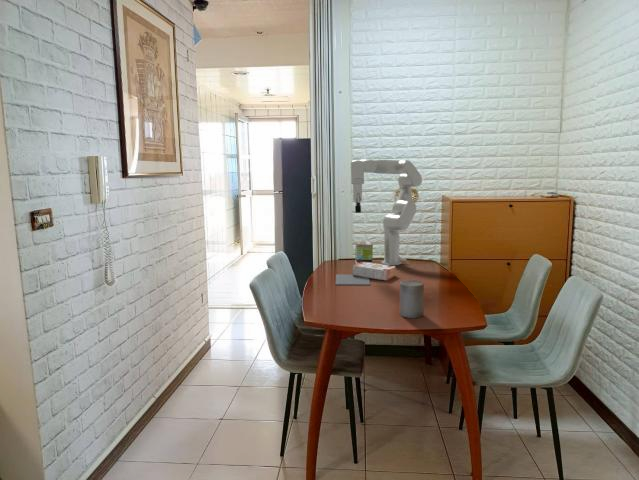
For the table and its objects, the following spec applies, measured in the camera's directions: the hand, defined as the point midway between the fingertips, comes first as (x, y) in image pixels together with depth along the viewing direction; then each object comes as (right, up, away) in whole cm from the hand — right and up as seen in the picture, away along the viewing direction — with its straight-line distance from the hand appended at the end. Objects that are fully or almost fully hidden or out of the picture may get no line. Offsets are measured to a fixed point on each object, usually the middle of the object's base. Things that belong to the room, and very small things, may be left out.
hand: (358, 212), depth 279 cm
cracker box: (-2, -32, -10) cm, 34 cm away
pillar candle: (+15, -48, -85) cm, 99 cm away
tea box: (+5, -33, +16) cm, 37 cm away
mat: (-5, -38, -23) cm, 45 cm away
